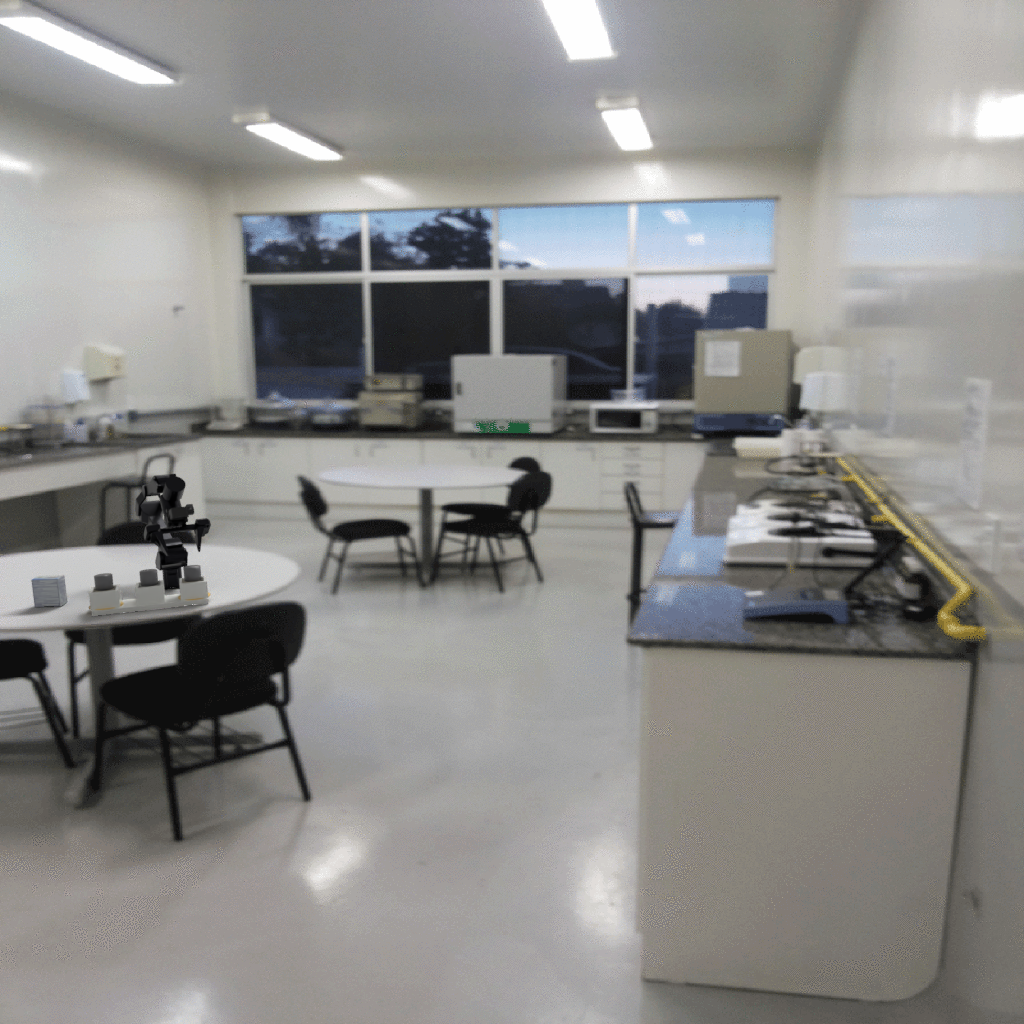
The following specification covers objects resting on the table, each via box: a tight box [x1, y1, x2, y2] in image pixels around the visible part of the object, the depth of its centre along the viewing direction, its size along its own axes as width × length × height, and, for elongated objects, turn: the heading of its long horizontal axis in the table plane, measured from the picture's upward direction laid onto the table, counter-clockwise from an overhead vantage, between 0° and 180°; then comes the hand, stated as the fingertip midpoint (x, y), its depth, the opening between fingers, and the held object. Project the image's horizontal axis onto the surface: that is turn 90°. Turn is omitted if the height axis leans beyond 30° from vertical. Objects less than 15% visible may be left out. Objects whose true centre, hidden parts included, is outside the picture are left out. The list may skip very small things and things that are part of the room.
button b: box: [138, 568, 159, 586], centre depth 258 cm, size 5×5×4 cm
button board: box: [88, 575, 211, 617], centre depth 259 cm, size 10×33×6 cm, turn 111°
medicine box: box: [30, 574, 69, 608], centre depth 262 cm, size 8×4×9 cm, turn 92°
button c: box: [93, 572, 114, 591], centre depth 254 cm, size 5×5×4 cm
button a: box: [182, 564, 202, 582], centre depth 262 cm, size 5×5×4 cm
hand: (183, 553), depth 266 cm, fingers open, 9 cm apart
